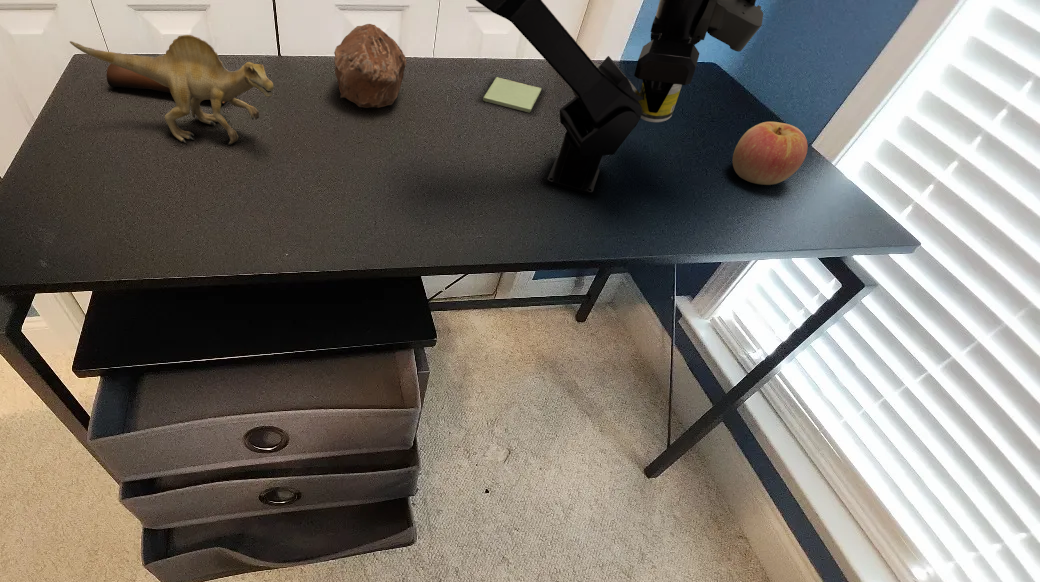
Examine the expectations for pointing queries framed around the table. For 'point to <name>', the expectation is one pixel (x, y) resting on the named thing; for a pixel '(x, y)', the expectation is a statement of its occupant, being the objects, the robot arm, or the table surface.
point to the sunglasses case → (132, 79)
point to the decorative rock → (369, 67)
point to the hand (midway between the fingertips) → (656, 102)
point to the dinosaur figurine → (193, 80)
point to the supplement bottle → (665, 108)
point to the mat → (512, 94)
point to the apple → (769, 153)
